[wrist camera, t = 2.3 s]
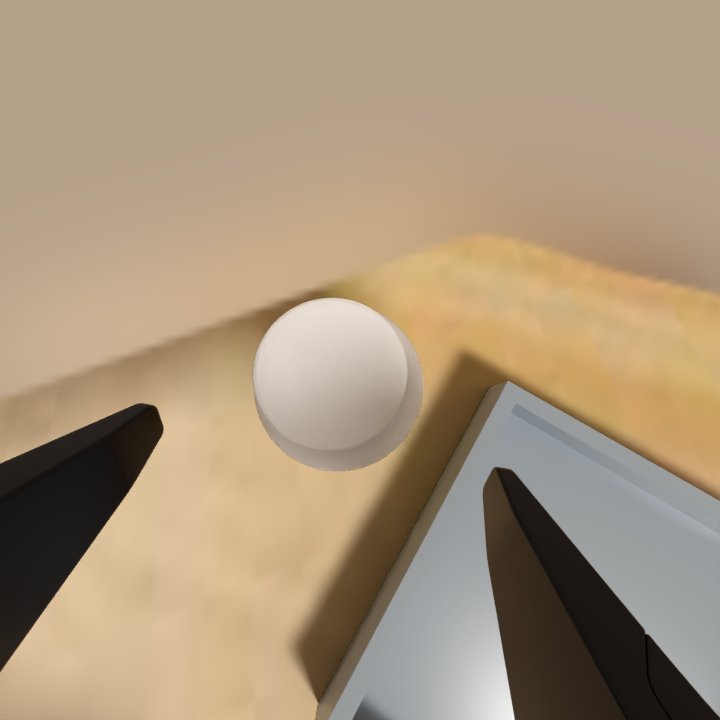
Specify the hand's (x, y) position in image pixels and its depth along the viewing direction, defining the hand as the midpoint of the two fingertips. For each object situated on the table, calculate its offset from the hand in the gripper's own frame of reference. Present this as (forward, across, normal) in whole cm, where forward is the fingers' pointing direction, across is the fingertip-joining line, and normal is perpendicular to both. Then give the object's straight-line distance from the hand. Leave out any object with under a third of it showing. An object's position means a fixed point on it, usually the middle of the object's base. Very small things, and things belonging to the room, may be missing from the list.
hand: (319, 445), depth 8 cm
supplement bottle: (+8, 0, +6) cm, 10 cm away
